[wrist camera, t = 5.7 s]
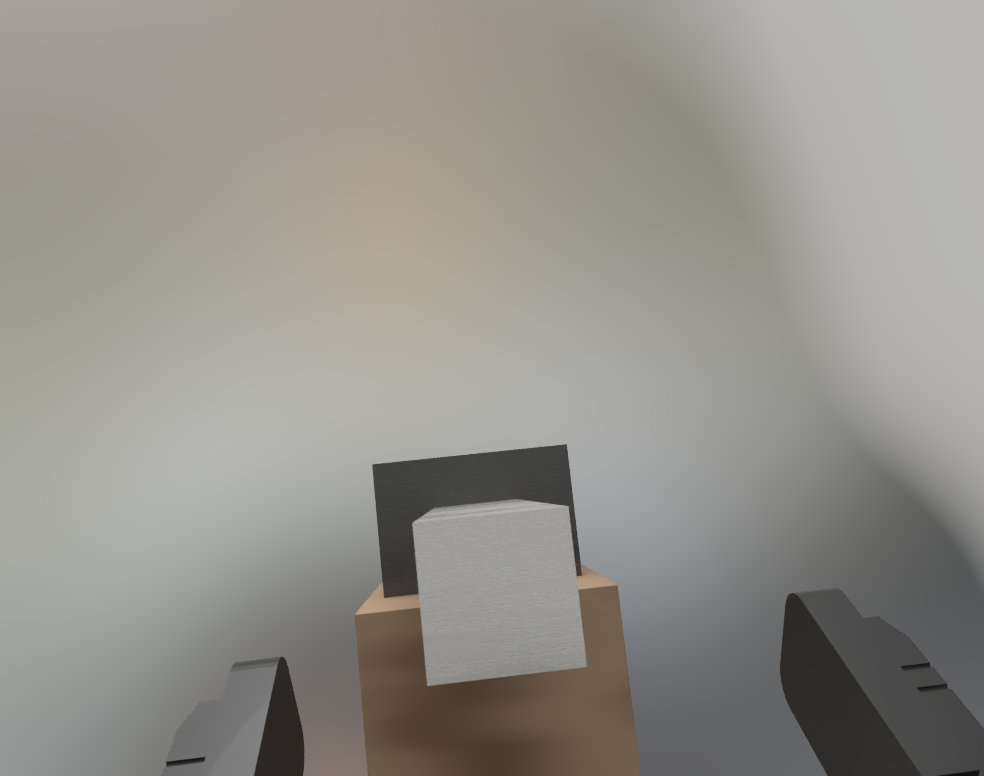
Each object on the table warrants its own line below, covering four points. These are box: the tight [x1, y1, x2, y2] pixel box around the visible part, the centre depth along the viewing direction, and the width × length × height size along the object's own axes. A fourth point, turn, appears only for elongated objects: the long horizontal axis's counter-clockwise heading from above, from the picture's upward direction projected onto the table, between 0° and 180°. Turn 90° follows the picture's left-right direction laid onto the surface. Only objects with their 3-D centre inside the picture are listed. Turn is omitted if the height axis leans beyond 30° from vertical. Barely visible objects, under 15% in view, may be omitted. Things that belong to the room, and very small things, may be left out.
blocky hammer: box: [373, 445, 587, 686], centre depth 21 cm, size 6×16×4 cm, turn 2°
